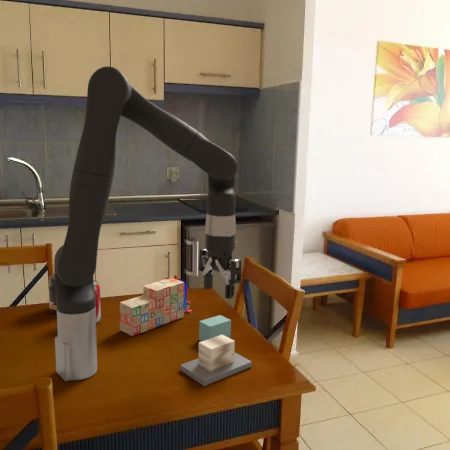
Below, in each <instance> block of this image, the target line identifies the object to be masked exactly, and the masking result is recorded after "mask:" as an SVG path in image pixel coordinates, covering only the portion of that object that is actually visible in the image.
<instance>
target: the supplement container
mask: <svg viewBox="0 0 450 450" xmlns="http://www.w3.org/2000/svg"><path fill="white" fill-rule="evenodd" d="M47 287H48V288H47V289H48V303H49V306H48V308H49V311H50V312H51V313H53V314H54V315H57V305H56V293H55V273H52V274H51V275H50V276H49V285H48V286H47Z"/></svg>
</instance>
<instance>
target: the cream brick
mask: <svg viewBox="0 0 450 450" xmlns="http://www.w3.org/2000/svg"><path fill="white" fill-rule="evenodd" d="M235 342H236V340H234V339H232V338H231V337H230V338H228V337H226V336H224V335H219V336H216V337H213V338H210V339H207V340H205V341H199V342H198V358H199V359H198V358H197V359H198V364H199V365H201V366H203V367H204V368H206V369H207V370H209V371H213V370H215V369H218V368H220V367H223V366H225V365H228V364H231V363H233V362H234V352H235V348H236V347H235V345H236V344H235Z"/></svg>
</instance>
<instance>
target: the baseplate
mask: <svg viewBox="0 0 450 450" xmlns="http://www.w3.org/2000/svg"><path fill="white" fill-rule="evenodd" d="M198 359H199V357H198V358H196V359H192V360H190V361H188V362H184V363H182V364H180V365H179V371H181V372H183V374H186V375H187V376H188V377H189V378H191V379H193V380H194V381H196V382H197V383H199V384H200V385H201V386H203V387H206V386H209V385H210V384H212V383H215V382H218V381H220V380H222V379H226V378H228V377H230V376H233V375H235V374H237V373H240V372H242V371H245V370H247V369H249V368H252V360H249V359H248V358H247V357H244V356H242V355H240V354H239V353H237V352H235V351H234V362H233V363H231V364H228V365H225V366H223V367H220V368H218V369H215V370H213V371H209V370H207V369H206V368H204V367H203V366H201V365H199V364H198Z"/></svg>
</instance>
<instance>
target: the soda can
mask: <svg viewBox="0 0 450 450" xmlns="http://www.w3.org/2000/svg"><path fill="white" fill-rule="evenodd" d="M93 281H94V291H95V299H96V324H98V323H99V322H100V321H101V319H102V315H101V313H102V311H101V310H102V309H101V308H102V306H101V305H102V304H101V303H102V302H101V286H100V284H99V281H98V280H96V279H93Z"/></svg>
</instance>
